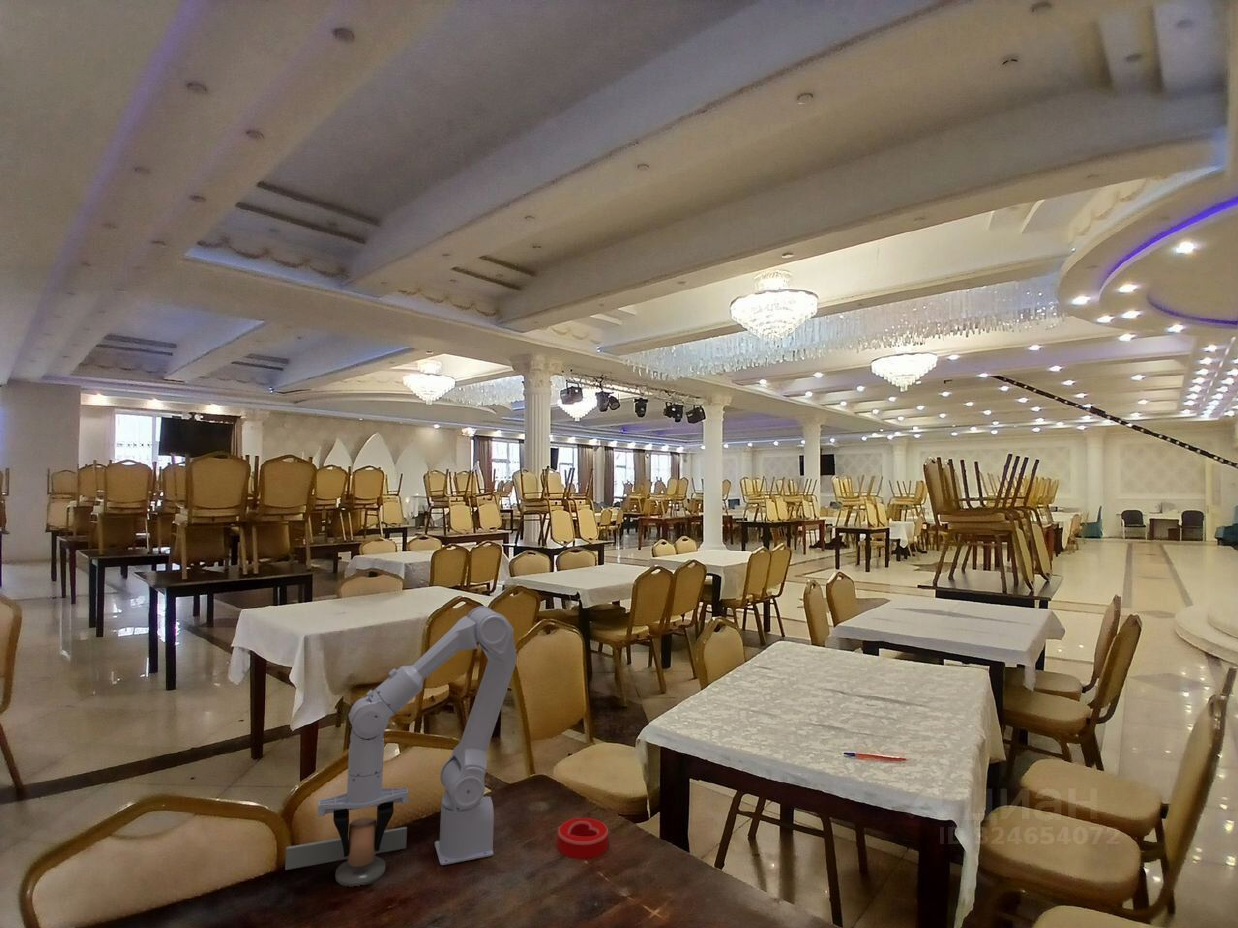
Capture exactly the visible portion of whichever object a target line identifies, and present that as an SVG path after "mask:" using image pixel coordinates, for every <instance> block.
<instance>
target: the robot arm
mask: <svg viewBox="0 0 1238 928" xmlns="http://www.w3.org/2000/svg"><path fill="white" fill-rule="evenodd" d="M514 632H515V629H514V628H513V626H512V625H511V623H510V622H509V620H508V619H507V618H506V617H505V616H504V615H503V614H501V613H498V612H496V611H494V610H493V609H492V608H490V607H488V606H484V605H483V606H482V605H481V606H476V607H475V608H472V610H470V612H469V613H468V614H467V615H464V616H463V617H461V618H460V619H459V620H458V621H457V622H456V623H455V624H454V625H453V626H452V627H451V628H449V630H448V631H447V632H446V633H445V634H444V635H443V636H442V637H441V638H440V639H439V640H438V641H436V643H434V644H433V645H432V646H431V647H430V648H429V649H427V651H426V652H425V653H423V655H422V656H421V657H420V658H419V659H418V660H416V661H415V663H413V664H412V665H402V666H400V667H399V668H398V669H396V668H393V669H391V670H390V671H389V672H388V675H389V676H388V677H387V678H386V679H385V680H383V682H382V683H380V684H379V685H378V686H377V687H375V689H374V690H373V689H370V690H368V692H366V696H365V697H361V698H359V699H357V700H356V701H355V702H354V703H353V705H352V707H351V708H350V710H349V711H350V712H349V713H348V719H349V720H348V721H349V722H350V724H351V731H350V736H349V737H350V738H349V741H350V743H349V745H348V746H349V747H348V762H347V763H348V764H347V765H348V766H347V784H346V785H347V787H346V793H343V794H339V795H336V796H332V797H329V798H325V799H320V800H318V804H317V805H318V806H317V817H318V818H319V817H325V815H328V814H333V816H332V817H333V819H332V820H333V821H332V822H333V824H334V826H335V828H336V830H337V832H338V835H339V838H341V841H342V845H343V850H344V857H346V856H348V853H349V847H348V837H349V825H350V811H354V810H360V809H368V808H371V807H372V808H375V807H376V821H377V822H376V842H375V851H379V850H380V844H381V840H382V837H383V834H384V831H385V830H387V826H388V825H389V822H390V821H391V819H392V817H393V815H394V811H395V810H394V809H395V808H394V804H398V803H401V804H403V805H404V804H408V803H409V788H408V787H402V788H401V787H399V788H398V787H396V788H395V787H394V788H388V787H387V788H383V776H384V775H383V774H384V758H385V757H384V755H385V752H384V751H385V741H384V734H385V733H384V732H385V731H386V730H387V728H388V724H389V720H390V718H392V717H394V716H395V715H396V714H397V713H398V712H400V710H402V709H403V707H405V706H406V705H407V704H408V703H409V702H410V701H412V700H413V699H414V698H415V697H416V696H417V695H419V694H420V692H422V691H423V687H424V683H425V680H426V678H427V677H429V676H430V675H432V674H433V673H434V672H435V671H436V670H438V669H439V668H440V667H441V666H442V665H444V664H445V663H446V662H447V661H448V660H450V659H451V658H452V657H453V656H454V655H456V654H457V653H458V652H460V651H466V650H476V649H478V648H479V646H480V647H481V649H482V651H483V653H484V654H485V657H486V659H487V663H486V666H485V669H484V673H483V675H482V679H481V681H480V684H479V687H478V690H477V694H476V696H475V699H474V701H473V705H472V708H471V710H470V712H469V713H470V714H469V716H468V719H467V722H466V725H465V728H464V731H463V734H462V736H461V739H460V742H459V743H458V744H457V745H456V746H455V747H454V748H453V750H452V753H451V756H450V757H449V758H448V759H447V761H446V762H445V763H443V766H442V768H441V770H440V776H439V777H440V783H441V784H442V787H444V788H445V790H444V793H443V796H442V798H441V806H440V826H439V827H440V828H439V830H440V831H439V840H436V841H434V847H435V850H436V855H437V857H438V862H439V864H440V865H441V866H446V865H451V864H456V863H461V862H466V861H471V860H476V859H482V858H486V857H492V856H493V855H494V825H495V824H494V823H495V822H494V821H495V820H494V819H495V817H494V815H495V814H494V812H495V811H494V803H493V800H492V797H491V796H484V794H485V791H486V784H485V783H486V782H485V777H486V772H487V768H488V766H487V765H488V763H487V751H488V749H489V746H490V742H491V740H492V736H493V733H494V731H495V727H496V724H497V722H498V718H499V716H500V713H501V710H502V709H501V708H502V706H503V703H504V700H505V698H506V695H507V692H508V688H509V685H510V682H511V681H512V680H511V679H512V676H513V672H514V671H515V669H516V665H517V660H518V656H517V649H516V645H515V639H514ZM477 643H478V644H477ZM478 645H479V646H478Z"/></svg>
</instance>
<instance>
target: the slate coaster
mask: <svg viewBox="0 0 1238 928" xmlns="http://www.w3.org/2000/svg"><path fill="white" fill-rule="evenodd" d="M347 861H348V860H346V861H344V862H342V863H341V864H340V865H339V866H338V867H337V868H336V870H335V875H334V876H335V877H334V878H335V882H336V883H337V884H338V885H340V886H343V887H347V886H349V887H350V888H355V887H354V886H357V887H361V886H360V885H363V886H367V885H369V884H372V883H374V882H376V881H378V880H380V878H382V876H384V874H385V872H386V861H385V860H384V859H383V858H381V857H379V856H376V855H375V859H374V860H373V861H372V862H371V863H369V864H367V865H364V866H359V867H354V866H350V865H349V864H348V862H347ZM349 887H348V888H349Z"/></svg>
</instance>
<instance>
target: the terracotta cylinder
mask: <svg viewBox="0 0 1238 928" xmlns="http://www.w3.org/2000/svg"><path fill="white" fill-rule="evenodd" d="M376 825H377V819H375V818H373V817H360V818H356V819H355V820H353V821H351V822H349V831H348V837H349V841H348V847H349V853H348V859H347V860H346V861H347V862H348V864H349V865H350V866H354V867H359V866H364V865H367V864H369V863H371V862H372V861H373V860H374V859H375V856H376V854H375V842H376Z"/></svg>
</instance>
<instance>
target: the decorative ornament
mask: <svg viewBox="0 0 1238 928" xmlns="http://www.w3.org/2000/svg"><path fill="white" fill-rule="evenodd" d="M556 844H557V847H556V848H557V850H558V852H560V854H561V855H563V856H565V857H567V858H571V859H577V860H589V859H593V858H598V857H599V856H602V855H603V854H605V852H607V850H608V848H609V829H608V826H607V825H606V824H605V823H603V822H602V821H601V820H597V819H594V818H590V817H578V818H572V819H569V820H567V821H565V822H563V823H562V824H561V825H560V826H558V829H557V842H556Z"/></svg>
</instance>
